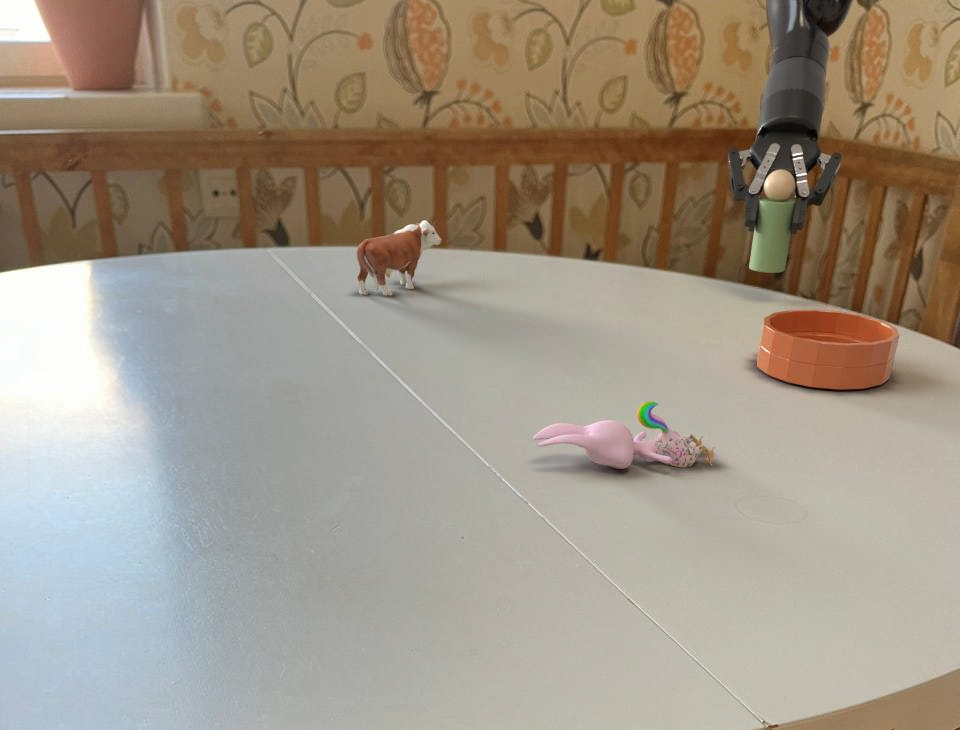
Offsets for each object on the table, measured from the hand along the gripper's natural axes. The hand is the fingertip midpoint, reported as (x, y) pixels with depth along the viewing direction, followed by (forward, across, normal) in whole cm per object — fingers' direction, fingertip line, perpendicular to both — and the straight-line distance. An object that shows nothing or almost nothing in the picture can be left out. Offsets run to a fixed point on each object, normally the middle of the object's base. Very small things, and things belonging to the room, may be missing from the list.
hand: (773, 228), depth 126 cm
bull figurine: (+12, -46, +2) cm, 47 cm away
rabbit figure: (+47, -9, -34) cm, 59 cm away
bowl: (+25, +7, -11) cm, 28 cm away
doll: (+2, 0, +5) cm, 6 cm away
